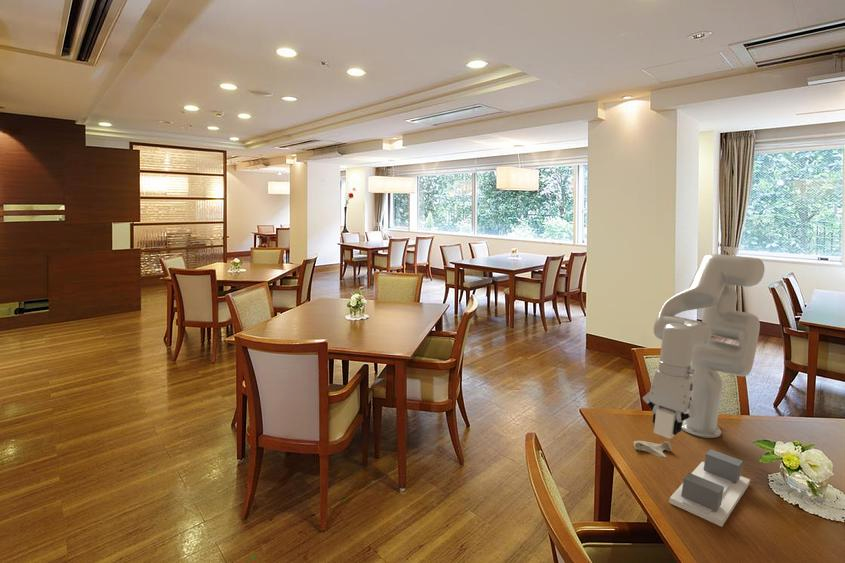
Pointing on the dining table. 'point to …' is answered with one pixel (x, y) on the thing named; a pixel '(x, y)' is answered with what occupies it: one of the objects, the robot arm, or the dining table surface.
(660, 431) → the block
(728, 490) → the rail board
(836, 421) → the dining table surface
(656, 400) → the robot arm
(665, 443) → the fossil
